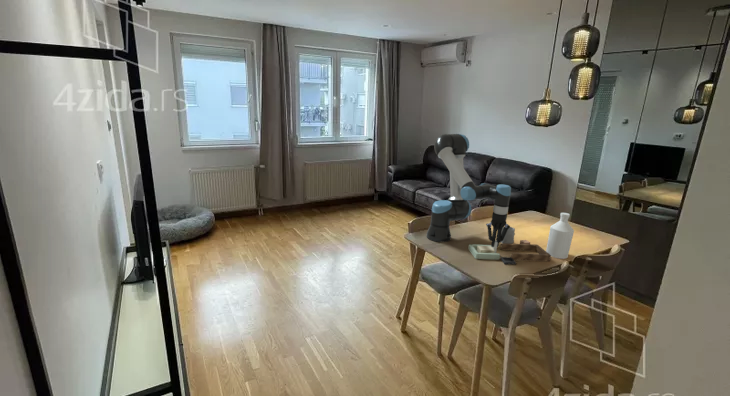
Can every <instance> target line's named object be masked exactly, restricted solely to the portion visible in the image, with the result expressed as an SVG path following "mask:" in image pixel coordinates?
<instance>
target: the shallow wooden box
mask: <svg viewBox="0 0 730 396" xmlns="http://www.w3.org/2000/svg"><path fill="white" fill-rule="evenodd" d="M500 247H501V248H500V250H501V251H522V253H521V252H520V253H519V252H511V255H510V257H511V258H512V259H513V260H514V261H529V262H531V261H533V262H534V261H535V262H550V261H551V258H552V256H551V255H550V254H549V253H547V252H546V249H544V248H543V247H541V246H540V245H539V244H534V243H533V244H531V243H530V244H520V243H513V244H506V243H501V246H500ZM523 251H527V252H528V251H531V252H536V253H525V252H524V253H523Z"/></svg>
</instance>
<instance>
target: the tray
mask: <svg viewBox="0 0 730 396" xmlns="http://www.w3.org/2000/svg"><path fill="white" fill-rule="evenodd" d="M499 260H500V261H501V262H502V263H503V264H504V265H516V264H517V262H516V260H513V259H512V258H511V256H500V258H499Z"/></svg>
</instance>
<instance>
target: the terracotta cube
mask: <svg viewBox="0 0 730 396" xmlns="http://www.w3.org/2000/svg"><path fill="white" fill-rule="evenodd" d="M519 244H531V241H529V240H527V239H520V240H519Z"/></svg>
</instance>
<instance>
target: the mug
mask: <svg viewBox="0 0 730 396" xmlns="http://www.w3.org/2000/svg"><path fill="white" fill-rule="evenodd" d="M503 229H504V227H503V228H502V231H503ZM502 231H501V233H502ZM515 231H516V229H515V228H514V227H512V226H510V228H509V229H508V230H507V232H506V235H505V237H504V240H503V241H500V243H501V244H502V243H506V244H515V243H514V242H515V235H516V233H515ZM500 243H499V244H500Z"/></svg>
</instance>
